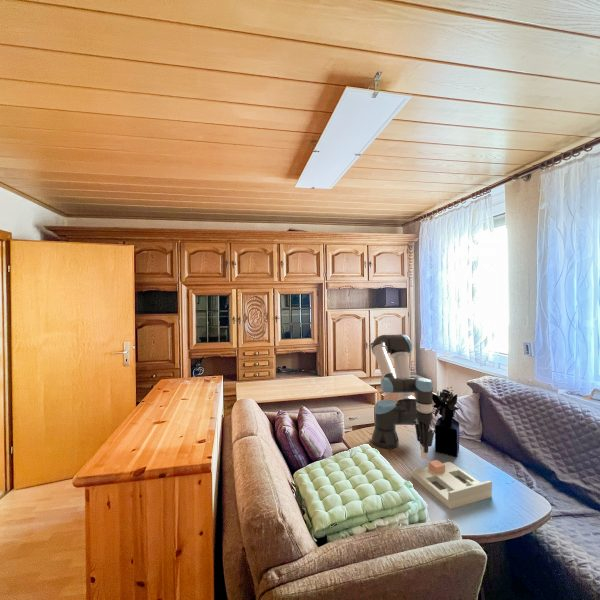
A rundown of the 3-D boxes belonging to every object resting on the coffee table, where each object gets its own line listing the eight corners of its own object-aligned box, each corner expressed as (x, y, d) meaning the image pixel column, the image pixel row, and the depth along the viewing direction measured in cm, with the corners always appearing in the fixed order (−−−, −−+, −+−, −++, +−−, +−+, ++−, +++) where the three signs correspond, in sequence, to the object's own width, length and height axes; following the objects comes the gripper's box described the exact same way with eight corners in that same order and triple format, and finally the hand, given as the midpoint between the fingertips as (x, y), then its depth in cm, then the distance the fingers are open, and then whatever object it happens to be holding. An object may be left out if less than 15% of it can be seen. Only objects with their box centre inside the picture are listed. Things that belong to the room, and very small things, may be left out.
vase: (428, 451, 168) (428, 387, 167) (432, 442, 177) (432, 381, 176) (458, 458, 160) (458, 391, 159) (460, 449, 170) (460, 385, 169)
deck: (412, 476, 145) (412, 462, 145) (449, 467, 152) (449, 454, 152) (450, 509, 124) (450, 493, 123) (491, 496, 131) (491, 481, 130)
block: (428, 467, 147) (428, 461, 147) (437, 465, 149) (437, 459, 149) (436, 473, 142) (436, 467, 142) (444, 471, 144) (444, 465, 144)
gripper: (409, 407, 158) (409, 452, 158) (427, 416, 145) (427, 466, 146) (421, 405, 160) (421, 450, 161) (440, 414, 148) (440, 463, 148)
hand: (424, 457), depth 153 cm, fingers closed
